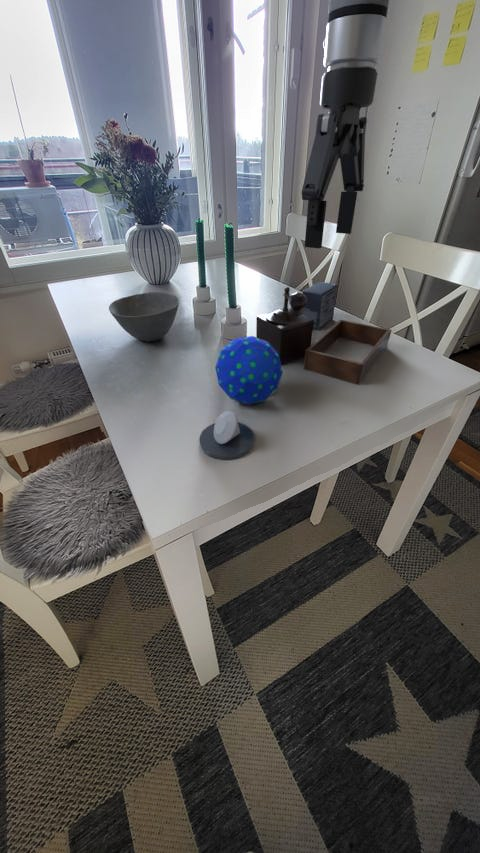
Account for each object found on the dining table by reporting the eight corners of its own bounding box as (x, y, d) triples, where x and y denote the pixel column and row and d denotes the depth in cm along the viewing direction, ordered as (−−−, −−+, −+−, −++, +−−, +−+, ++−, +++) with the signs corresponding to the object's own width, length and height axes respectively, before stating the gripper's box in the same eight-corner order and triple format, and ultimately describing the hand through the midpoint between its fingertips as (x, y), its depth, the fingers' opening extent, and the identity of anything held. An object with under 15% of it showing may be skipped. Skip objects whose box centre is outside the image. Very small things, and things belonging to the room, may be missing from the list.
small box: (314, 314, 110) (318, 280, 103) (333, 319, 107) (338, 283, 100) (298, 326, 103) (301, 290, 97) (318, 330, 100) (323, 294, 94)
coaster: (264, 435, 64) (264, 432, 64) (233, 467, 58) (233, 464, 57) (221, 417, 69) (221, 414, 68) (188, 446, 62) (187, 443, 62)
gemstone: (257, 425, 61) (236, 416, 58) (241, 455, 62) (219, 448, 59) (239, 412, 66) (219, 403, 63) (225, 440, 67) (204, 433, 64)
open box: (386, 347, 91) (391, 329, 88) (358, 385, 77) (363, 365, 74) (337, 336, 97) (340, 319, 94) (303, 369, 83) (305, 350, 80)
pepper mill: (252, 351, 91) (252, 279, 80) (285, 340, 96) (289, 271, 85) (290, 375, 81) (296, 297, 70) (325, 362, 86) (336, 287, 74)
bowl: (174, 320, 109) (169, 287, 103) (191, 343, 96) (187, 307, 89) (113, 331, 104) (104, 297, 97) (123, 357, 90) (113, 320, 84)
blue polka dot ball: (252, 335, 80) (273, 315, 66) (278, 390, 82) (305, 382, 67) (198, 360, 77) (208, 346, 63) (226, 417, 79) (242, 415, 64)
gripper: (354, 81, 58) (335, 226, 71) (283, 60, 42) (276, 251, 55) (401, 76, 54) (372, 229, 68) (342, 50, 38) (319, 257, 52)
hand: (329, 240), depth 61 cm, fingers open, 13 cm apart
